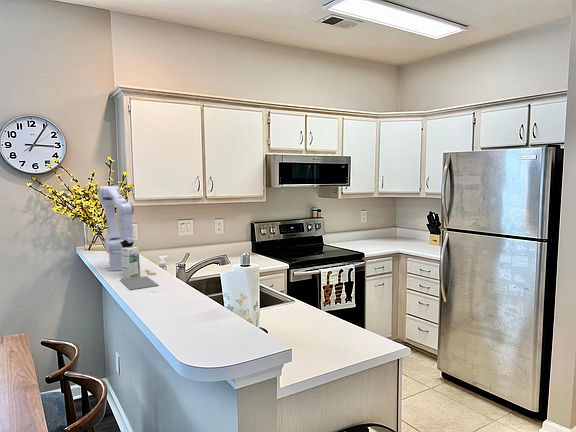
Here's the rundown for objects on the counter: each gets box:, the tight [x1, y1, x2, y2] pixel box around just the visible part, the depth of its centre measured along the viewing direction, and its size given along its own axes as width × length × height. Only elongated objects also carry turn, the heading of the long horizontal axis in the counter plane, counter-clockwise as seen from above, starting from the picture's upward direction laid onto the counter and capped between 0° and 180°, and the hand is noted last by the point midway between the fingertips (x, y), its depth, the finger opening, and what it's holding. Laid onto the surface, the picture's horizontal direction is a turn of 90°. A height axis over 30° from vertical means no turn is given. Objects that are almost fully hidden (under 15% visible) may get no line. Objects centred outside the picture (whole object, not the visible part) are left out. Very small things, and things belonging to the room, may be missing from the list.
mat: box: [119, 275, 160, 291], centre depth 187 cm, size 20×12×1 cm, turn 33°
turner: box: [144, 268, 157, 277], centre depth 207 cm, size 12×4×1 cm, turn 33°
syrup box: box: [121, 245, 141, 279], centre depth 198 cm, size 6×6×14 cm
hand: (127, 255), depth 202 cm, fingers closed
